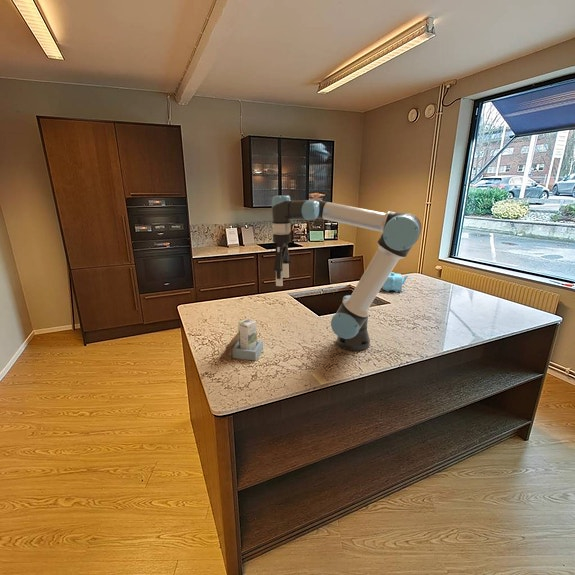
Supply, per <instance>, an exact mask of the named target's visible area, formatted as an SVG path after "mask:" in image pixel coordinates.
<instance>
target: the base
mask: <svg viewBox="0 0 575 575" xmlns="http://www.w3.org/2000/svg"><path fill="white" fill-rule="evenodd" d="M238 341H239V332H237V334H235V335H234V336H233V338H232V339H231V340H230V341H229V343H228V344H227V345H226V346H225V350H224V351H223V353H222V354H220V356H219V359H220V360H224V361H225V360H226V361H232V360H233V359H234V358H233V356H232V349H233V348H234V346H235V345H236V344H237V343H238Z"/></svg>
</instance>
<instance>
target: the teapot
mask: <svg viewBox="0 0 575 575" xmlns="http://www.w3.org/2000/svg"><path fill="white" fill-rule="evenodd" d="M410 276H411V275H410V274H408V275H407V274H406V275H404V277H403V275H402V274H401V273H395V272H391V273H390V275H389V276H388V278H387V280H386V281H385V283H384V284H383V286H382V288H381V289H382V290H384V291H385V292H386V291H389V292H390V291H395V292H394V293H399V291H402V290H403V289H402V288H403V285H404V284H405V282H406V281H407V279H408V277H410Z"/></svg>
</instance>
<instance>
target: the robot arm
mask: <svg viewBox="0 0 575 575" xmlns="http://www.w3.org/2000/svg"><path fill="white" fill-rule="evenodd" d="M271 209H272V210H271V212H272V213H271V214H272V225H271V228H272V234H273V235H272V242H273V243H274V244H277V246H275V253H274V254H275V255H274V268H273V271H274V272H275V286H276V287H283V285H284V284H283V278H285V279H288V278H289V277H290V272H289V271H290V270H289V264H291V260H290V254H289V244H290V243H291V235H292V234H291V231H292V230H291V220H303V221H304V220H305V221H310V220H311V221H314V220H317V219H320V220H325V221H331V222H336V223H339V224H343V225H344V224H345V225H348V226H353V227H357V228H362V229H366V230H371V231H376V232H380V233H381V235H380V237H379V239H378V240H377V242H376V243H377V246H378V247H377V248H378V249H377V250H376V252H375V254H374V255H373V257H372V258H371V260H370V262H369V264H368V265H367V267H366V269H365V271H364V272H363V274H362V276H361V277H360V279H359V281H357V282H358V283H357V284H356V286H355V287H354V289H353V291H352V293H351V295H350V294H348V295H347V294H346V295H344V296H343V297H342V301H341V302H342V303H341V304H340V305H339V307H338V309H337V310H336V313H334V315H333V316H332V317H331V319H330V327H331V330H332V333H334V334H335V335H336V336H337V337H336V343H337V345H338V346H339V347H340V348H342V349H344V350H347V351H355V352H357V351H363V350H364V351H365V350H367V349H369V347H370V344H371V340H370V335H369V332H368V321H369V315H370V312H369V309H370V307H371V305H372V304H373V302H374V301H375V298H376V297H377V295H378V294H379V292H380V291H381V289H383V288H382V286H383V284H384V283H385V281H386V280H387V278H388V276H389V275H390V273H391V272H392V271H393V270H394V268H395V267H396V265H397V264H398V262H399V260H401V259H405V258H406V257H407V256H408V254H409V253H410V251H411V249H412V248H413V246H414V245H415V244H416V243H417V241H418V240H419V238H420V235H421V232H422V223H421V220H420V218H418V216H416V215H415V214H413V213H409V212H396V211H390V210H388V211H386V212H381V211H376V210H371V209H366V208H361V207H355V206H350V205H347V204H346V205H345V204H342V203H341V204H340V203H335V202H330V201H324V200H322V199H319V198H313V199H304V200H291V196H290V195H274V196H273V197H272V198H271Z"/></svg>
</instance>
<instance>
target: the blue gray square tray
mask: <svg viewBox="0 0 575 575" xmlns="http://www.w3.org/2000/svg"><path fill="white" fill-rule="evenodd" d="M263 350H264V341H263V340H258V339H257V346H256V347H255V349H254V350H247V349H239V341H238V343H237V344H236V345H235V346H234V348H233V349H232V356H233V358H232V359H237V360H238V359H240V360H247V361H257V359H258V358H259V356H260V355H261V353H262V351H263Z"/></svg>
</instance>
